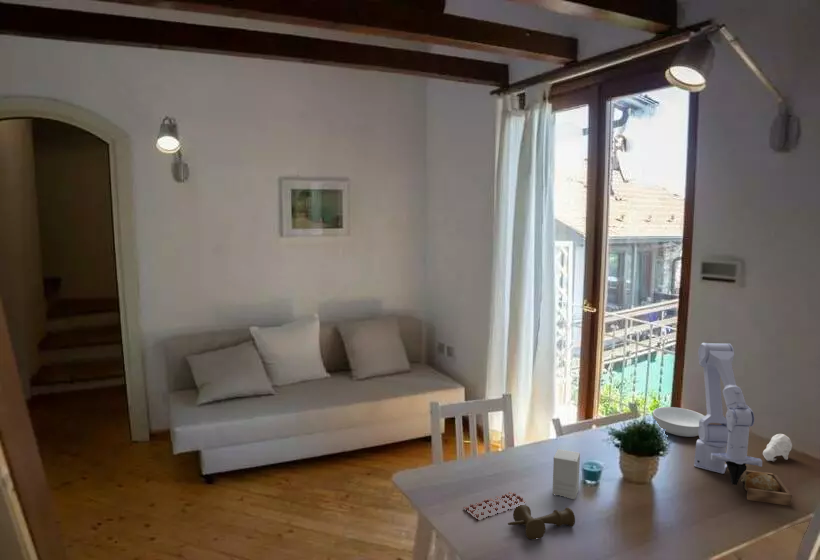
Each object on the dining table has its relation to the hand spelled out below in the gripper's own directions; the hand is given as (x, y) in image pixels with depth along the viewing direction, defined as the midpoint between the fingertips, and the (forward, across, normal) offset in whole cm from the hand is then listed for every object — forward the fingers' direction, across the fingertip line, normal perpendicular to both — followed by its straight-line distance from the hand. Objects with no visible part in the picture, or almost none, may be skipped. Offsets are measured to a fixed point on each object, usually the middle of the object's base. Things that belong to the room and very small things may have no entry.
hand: (733, 483), depth 182 cm
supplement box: (+2, -53, -19) cm, 56 cm away
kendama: (+2, -60, -43) cm, 73 cm away
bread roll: (+2, +8, 0) cm, 8 cm away
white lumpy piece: (+2, +21, +29) cm, 35 cm away
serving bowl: (+2, -8, +45) cm, 46 cm away
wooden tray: (+1, +8, 0) cm, 8 cm away
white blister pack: (+2, -73, -35) cm, 81 cm away
